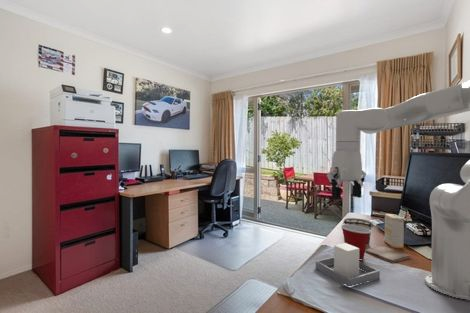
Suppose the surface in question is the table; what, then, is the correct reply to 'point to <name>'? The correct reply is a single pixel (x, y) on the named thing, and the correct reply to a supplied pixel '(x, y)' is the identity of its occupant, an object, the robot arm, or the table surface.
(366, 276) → the bin
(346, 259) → the carton
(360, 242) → the plastic cup
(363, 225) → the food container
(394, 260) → the beige square coaster
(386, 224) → the supplement box
